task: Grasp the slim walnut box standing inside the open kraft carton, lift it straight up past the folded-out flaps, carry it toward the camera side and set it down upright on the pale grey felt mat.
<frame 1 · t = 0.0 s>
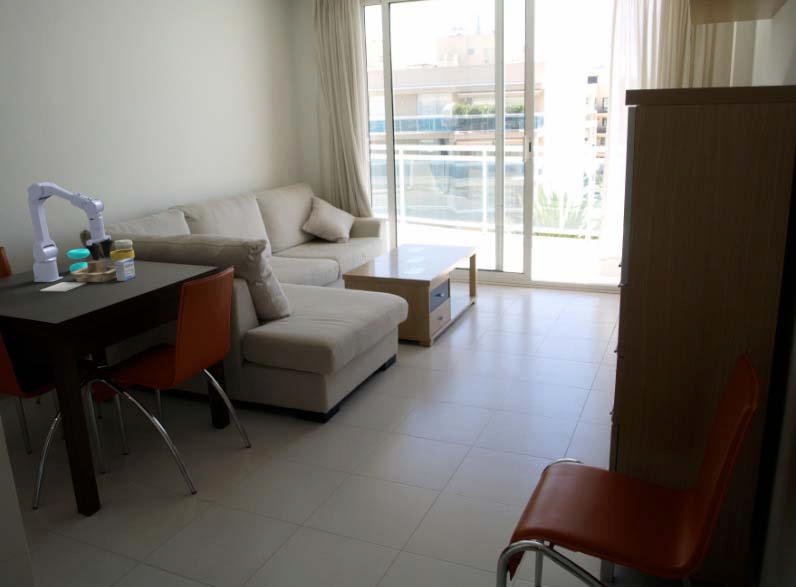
hand: (101, 258, 301), 10 cm above the table, fingers open, 7 cm apart
carton: (98, 278, 308), on the table
walnut box: (97, 269, 307), in the carton
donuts: (81, 271, 327), on the table
plant pot: (124, 272, 321), on the table
coffee cup: (126, 265, 337), on the table
felt mat: (63, 287, 295), on the table
medicine box: (126, 279, 305), on the table
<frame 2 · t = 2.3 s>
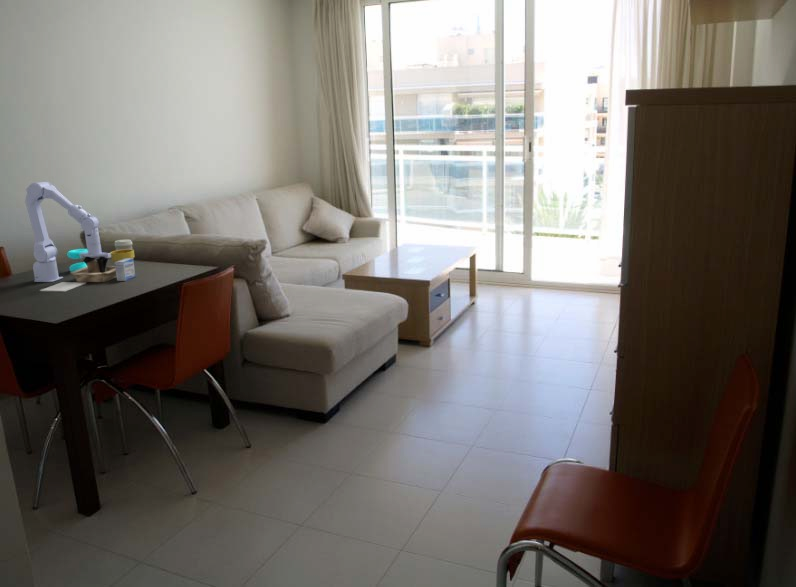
hand: (98, 273, 308), 2 cm above the table, fingers closed on walnut box, 4 cm apart
walnut box: (97, 269, 307), in the carton, touching gripper
everything else where it was.
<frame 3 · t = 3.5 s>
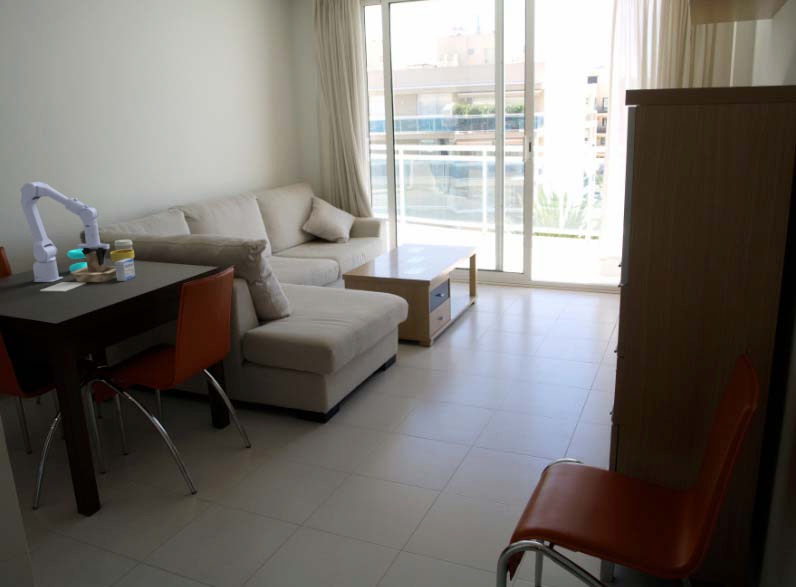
hand: (96, 264, 307), 7 cm above the table, fingers closed on walnut box, 4 cm apart
walnut box: (96, 261, 306), point 8 cm above the table, touching gripper
everything else where it was.
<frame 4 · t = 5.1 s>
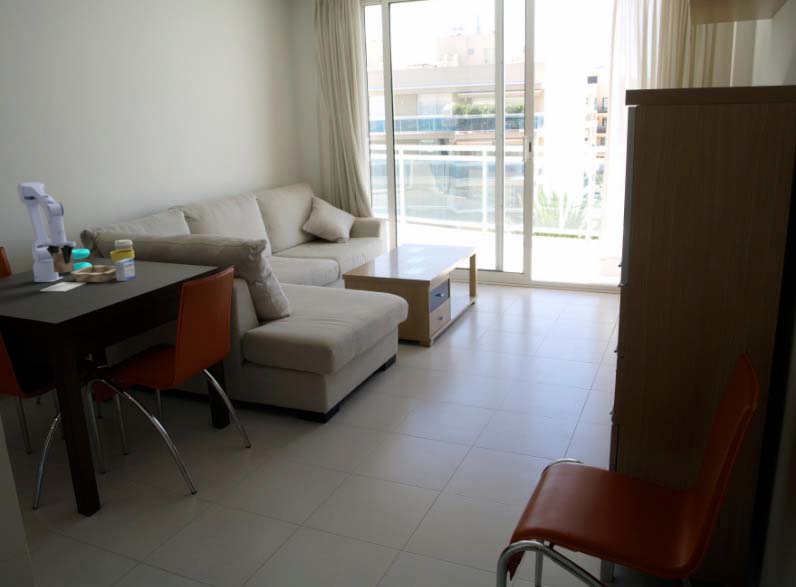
hand: (62, 263, 293), 10 cm above the table, fingers closed on walnut box, 4 cm apart
walnut box: (63, 262, 294), point 11 cm above the table, tilted 6°, touching gripper
everything else where it was.
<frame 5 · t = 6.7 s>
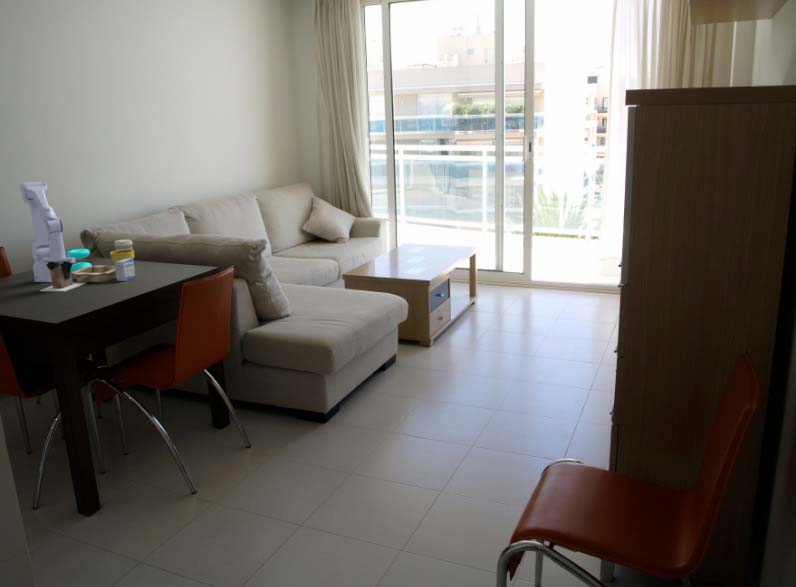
hand: (62, 279, 294), 4 cm above the table, fingers closed on walnut box, 4 cm apart
walnut box: (61, 277, 293), on the felt mat, touching gripper
everything else where it was.
when the fingers open (4 cm above the table, at t = 7.4 s): walnut box stays where it is, resting on felt mat.
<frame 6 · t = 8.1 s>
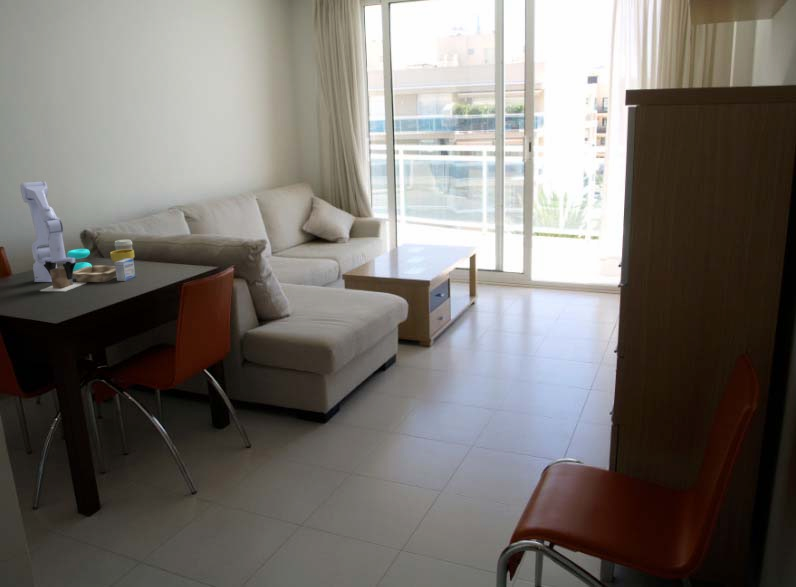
hand: (62, 279, 294), 4 cm above the table, fingers open, 7 cm apart
walnut box: (61, 277, 293), on the felt mat
everything else where it was.
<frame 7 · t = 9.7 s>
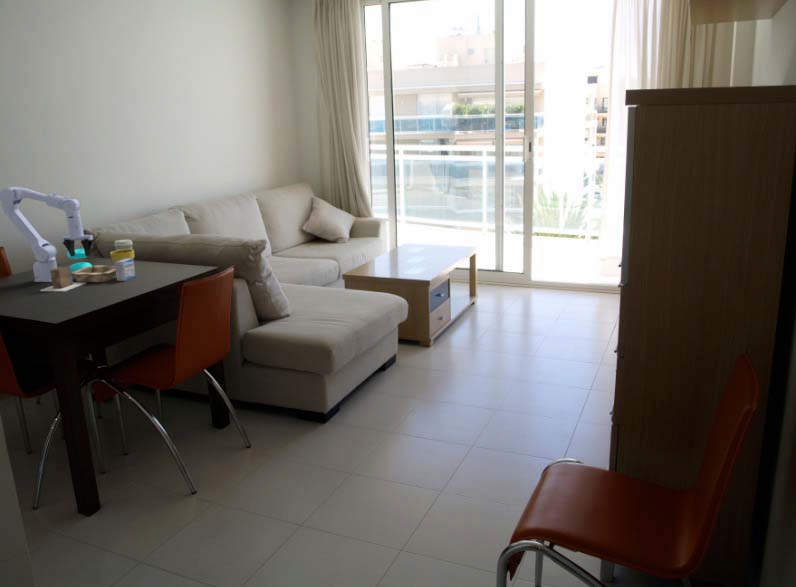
hand: (80, 255, 307), 10 cm above the table, fingers open, 7 cm apart
nothing on the table moved.
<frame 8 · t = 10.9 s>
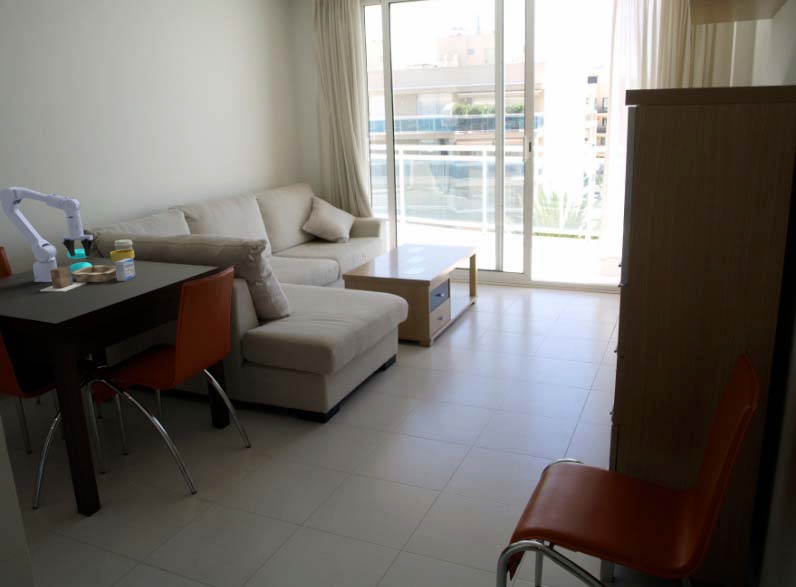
hand: (80, 255, 307), 10 cm above the table, fingers open, 7 cm apart
nothing on the table moved.
at the end: walnut box inside the target area on the felt mat (0.2 cm from its centre), point 4.4 cm above the felt mat's base; walnut box tilted 0°; the gripper is holding nothing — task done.
